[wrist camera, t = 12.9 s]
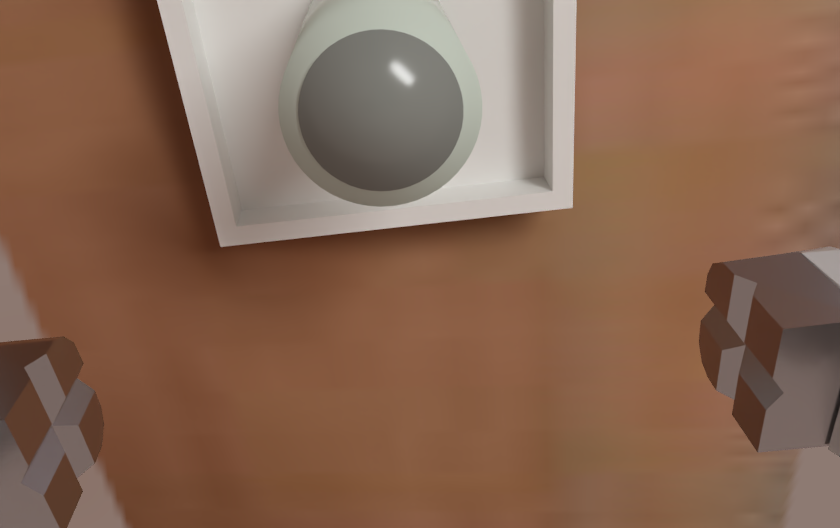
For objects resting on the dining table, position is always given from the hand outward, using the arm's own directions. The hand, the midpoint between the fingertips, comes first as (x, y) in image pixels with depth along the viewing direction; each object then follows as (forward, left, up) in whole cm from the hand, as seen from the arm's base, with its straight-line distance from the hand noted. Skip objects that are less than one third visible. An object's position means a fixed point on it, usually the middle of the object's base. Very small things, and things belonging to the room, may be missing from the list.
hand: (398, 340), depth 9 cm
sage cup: (0, 0, -19) cm, 19 cm away
